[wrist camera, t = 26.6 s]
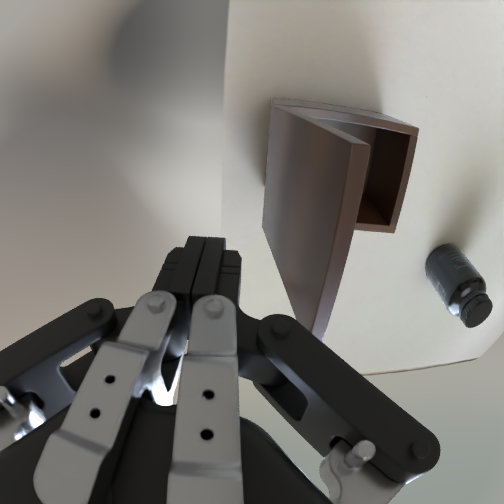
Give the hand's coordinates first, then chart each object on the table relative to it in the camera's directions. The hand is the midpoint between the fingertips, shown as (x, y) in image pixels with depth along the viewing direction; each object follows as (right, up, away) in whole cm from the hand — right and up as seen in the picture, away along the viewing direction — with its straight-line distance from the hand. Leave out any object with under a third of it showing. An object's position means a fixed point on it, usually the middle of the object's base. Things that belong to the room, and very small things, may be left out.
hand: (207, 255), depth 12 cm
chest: (+10, +11, +19) cm, 24 cm away
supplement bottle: (+31, -1, +27) cm, 41 cm away
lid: (+5, +3, +5) cm, 8 cm away
